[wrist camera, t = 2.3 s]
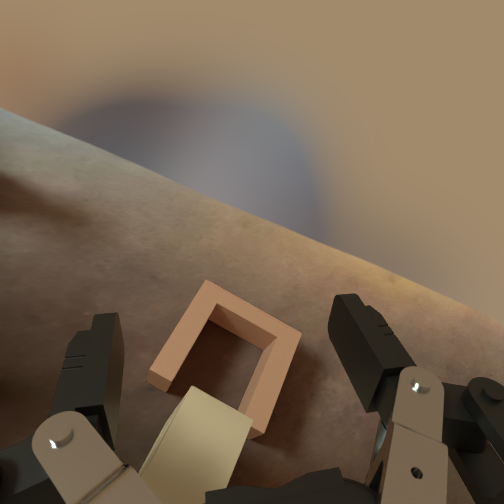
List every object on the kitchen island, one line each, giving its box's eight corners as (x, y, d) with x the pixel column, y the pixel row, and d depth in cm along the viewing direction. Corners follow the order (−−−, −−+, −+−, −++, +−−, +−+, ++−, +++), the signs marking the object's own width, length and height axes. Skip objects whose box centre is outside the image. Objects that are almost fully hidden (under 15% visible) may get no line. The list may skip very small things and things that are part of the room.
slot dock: (249, 439, 33) (264, 433, 30) (146, 381, 33) (149, 369, 30) (286, 346, 39) (301, 333, 35) (198, 297, 38) (205, 279, 35)
